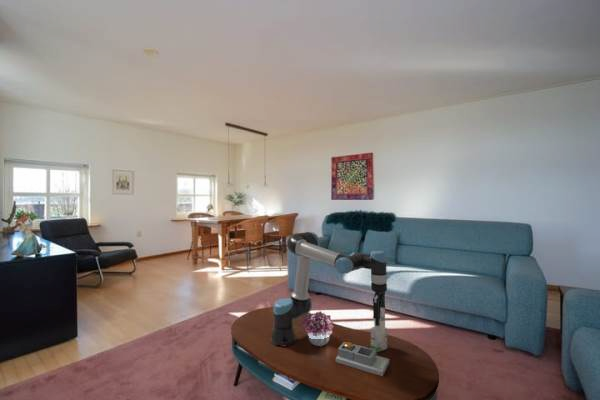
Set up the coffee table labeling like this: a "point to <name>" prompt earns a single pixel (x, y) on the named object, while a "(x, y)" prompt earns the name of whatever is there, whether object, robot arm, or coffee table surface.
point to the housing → (362, 359)
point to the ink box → (378, 346)
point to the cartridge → (381, 335)
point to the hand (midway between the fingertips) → (379, 329)
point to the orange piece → (348, 346)
